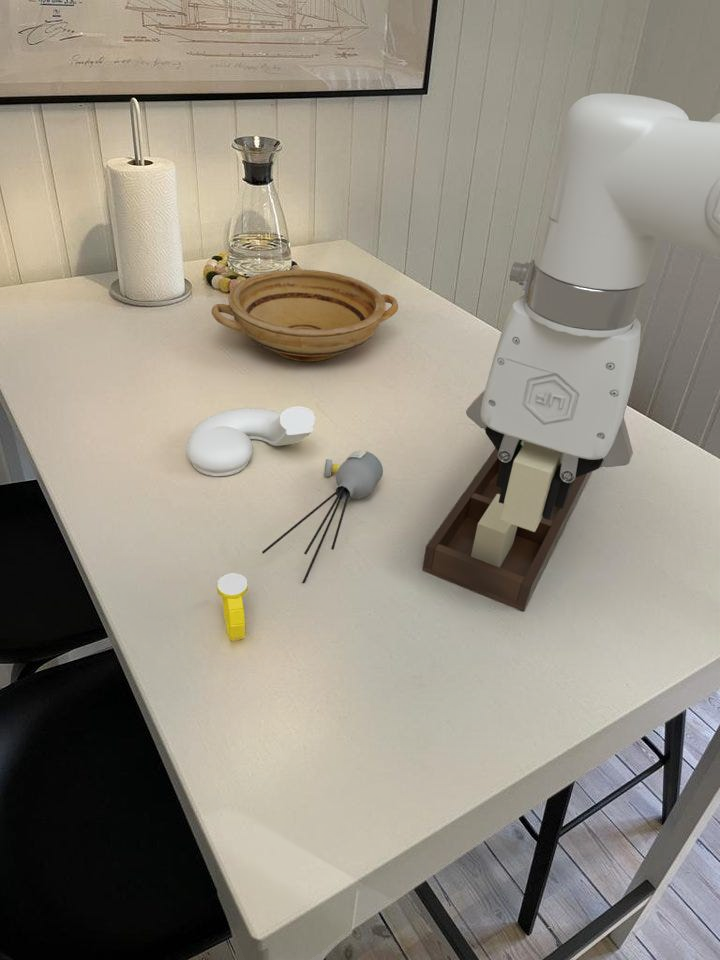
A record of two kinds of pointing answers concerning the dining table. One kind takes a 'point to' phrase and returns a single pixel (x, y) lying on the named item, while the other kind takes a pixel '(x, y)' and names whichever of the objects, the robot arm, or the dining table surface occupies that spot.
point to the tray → (522, 562)
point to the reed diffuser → (345, 490)
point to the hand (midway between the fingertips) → (529, 500)
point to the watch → (233, 603)
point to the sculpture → (243, 436)
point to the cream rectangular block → (529, 485)
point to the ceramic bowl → (305, 312)
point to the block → (493, 536)
